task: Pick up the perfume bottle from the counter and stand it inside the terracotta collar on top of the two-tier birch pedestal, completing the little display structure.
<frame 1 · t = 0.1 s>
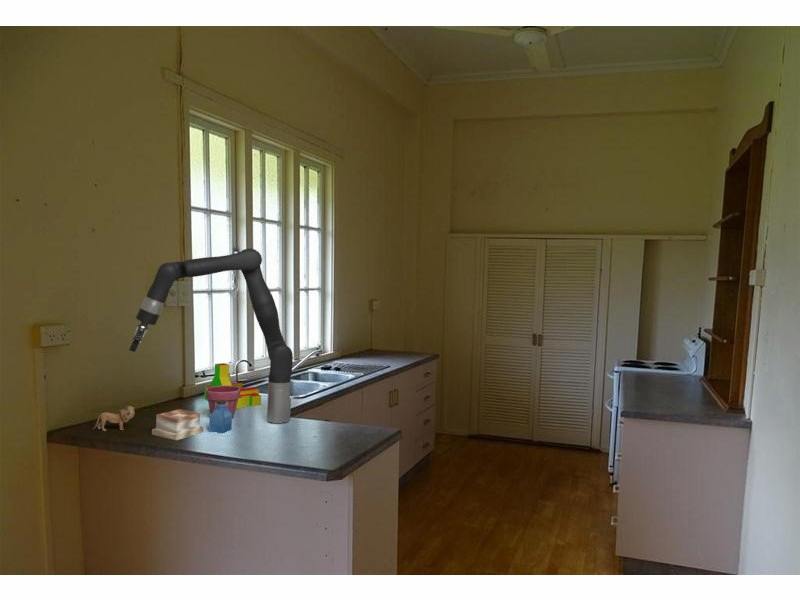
hand: (132, 349, 209), 31 cm above the counter, tool tilted 20°, fingers open, 8 cm apart
plant pot: (222, 418, 234), on the counter
lion figurine: (114, 429, 211), on the counter
building blocks toy: (234, 402, 264), on the counter
pedestal: (177, 433, 209), on the counter
perfume bottle: (220, 431, 216), on the counter
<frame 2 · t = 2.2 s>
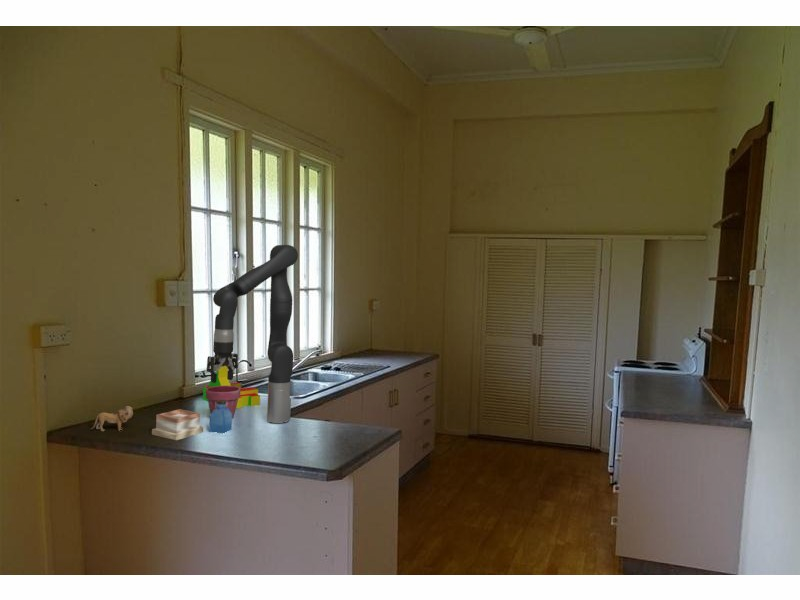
hand: (222, 381, 215), 20 cm above the counter, tool pointing down, fingers open, 8 cm apart
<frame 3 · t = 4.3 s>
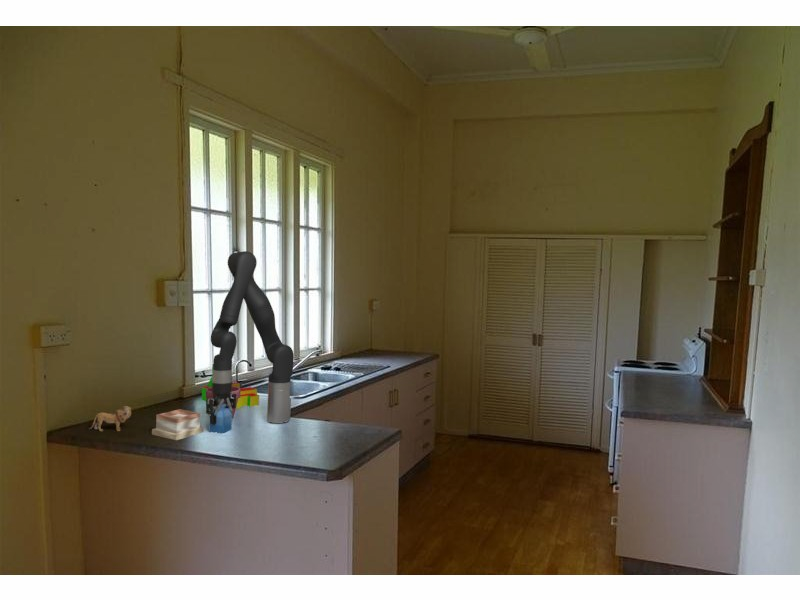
hand: (220, 422, 215), 3 cm above the counter, tool pointing down, fingers closed on perfume bottle, 7 cm apart
perfume bottle: (220, 431, 216), on the counter, touching gripper
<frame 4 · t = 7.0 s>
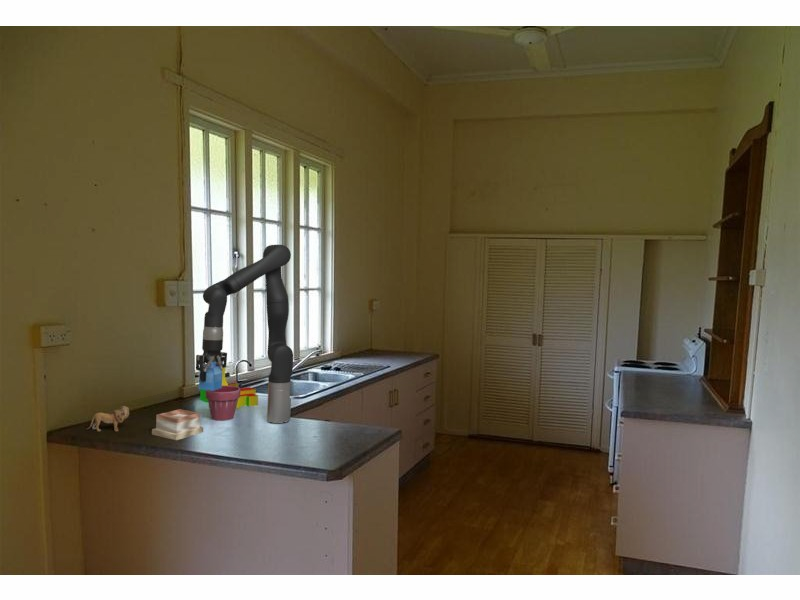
hand: (210, 380, 213), 20 cm above the counter, tool pointing down, fingers closed on perfume bottle, 7 cm apart
perfume bottle: (210, 389, 213), point 17 cm above the counter, touching gripper
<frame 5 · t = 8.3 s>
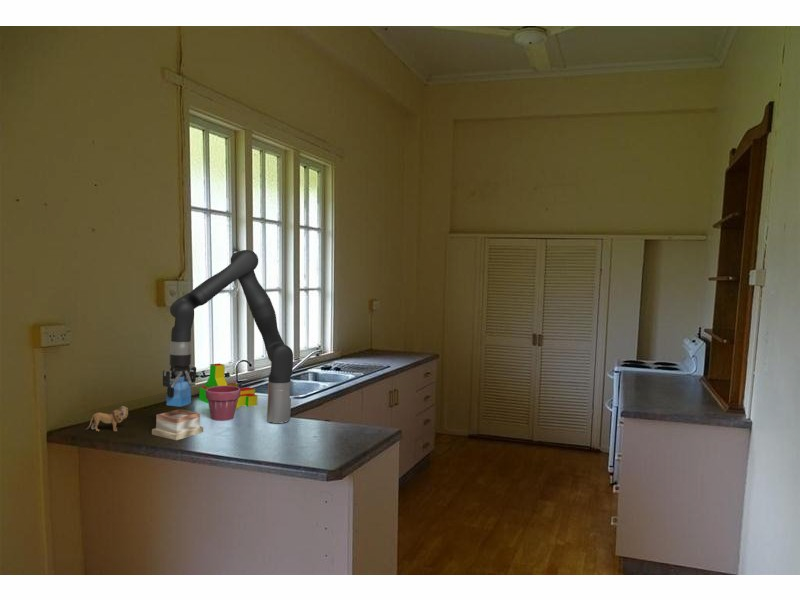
hand: (179, 395, 209), 15 cm above the counter, tool pointing down, fingers closed on perfume bottle, 7 cm apart
perfume bottle: (178, 404, 209), point 11 cm above the counter, touching gripper
when the fingers open (10 cm above the counter, at t = 9.6 s): perfume bottle drops 1 cm, resting on pedestal.
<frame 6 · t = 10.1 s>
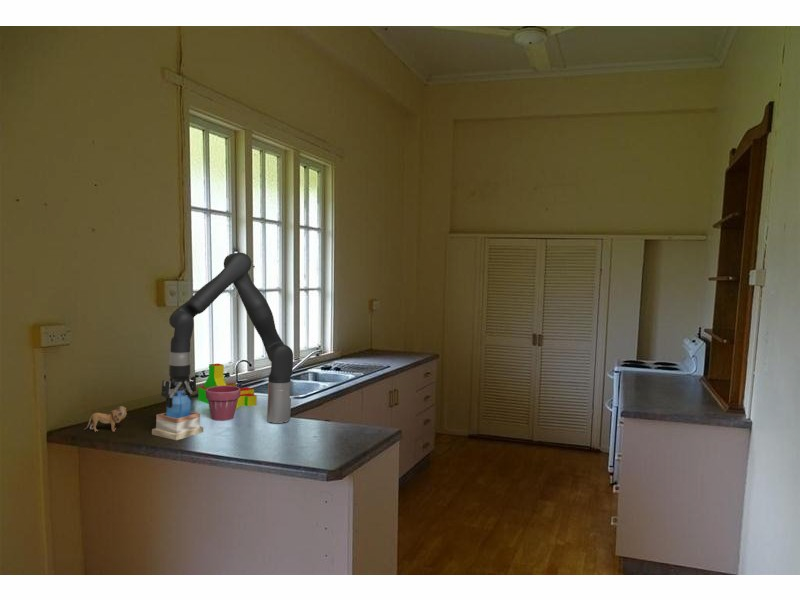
hand: (178, 405, 209), 11 cm above the counter, tool pointing down, fingers open, 8 cm apart
perfume bottle: (178, 418, 209), point 6 cm above the counter, touching pedestal
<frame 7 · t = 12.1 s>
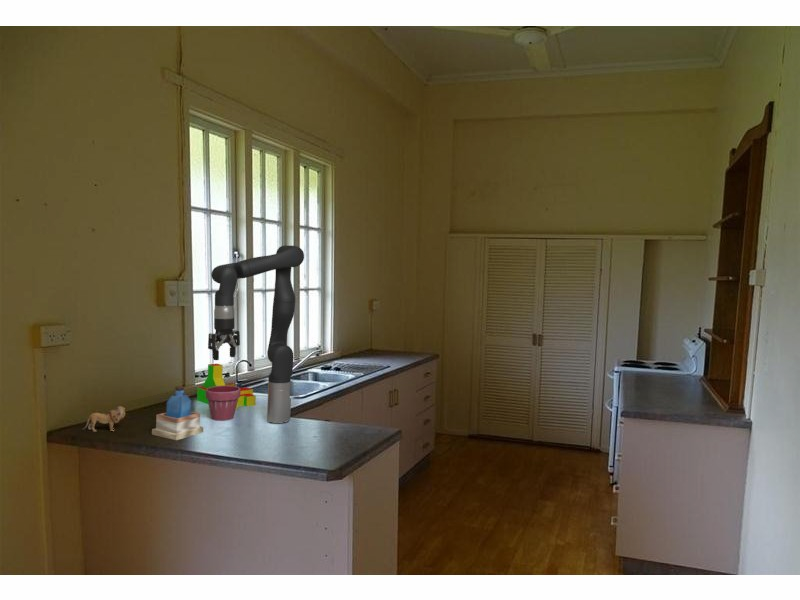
hand: (224, 358, 212), 29 cm above the counter, tool pointing down, fingers open, 8 cm apart
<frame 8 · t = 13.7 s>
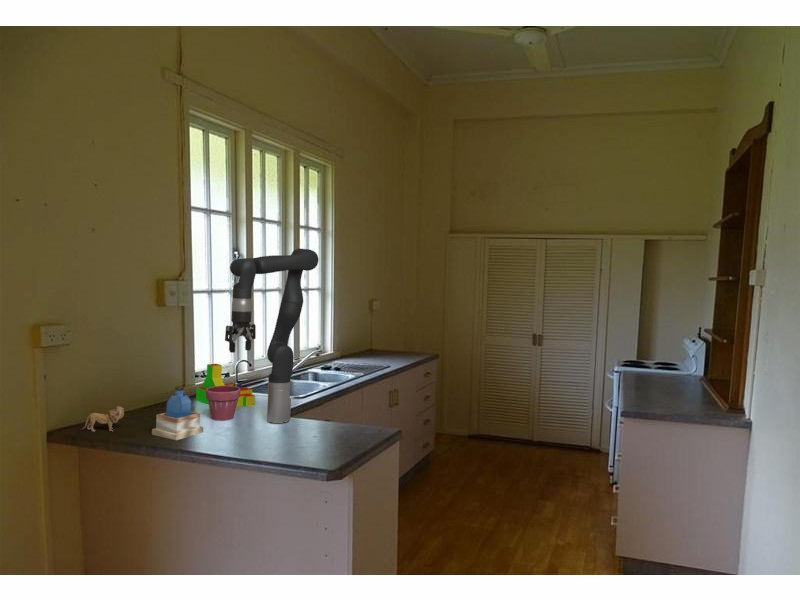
hand: (240, 351, 213), 32 cm above the counter, tool pointing down, fingers open, 8 cm apart
at the end: perfume bottle 0.1 cm off-centre on the pedestal, point 5.8 cm above the pedestal's base; perfume bottle tilted 0°; the gripper is holding nothing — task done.
